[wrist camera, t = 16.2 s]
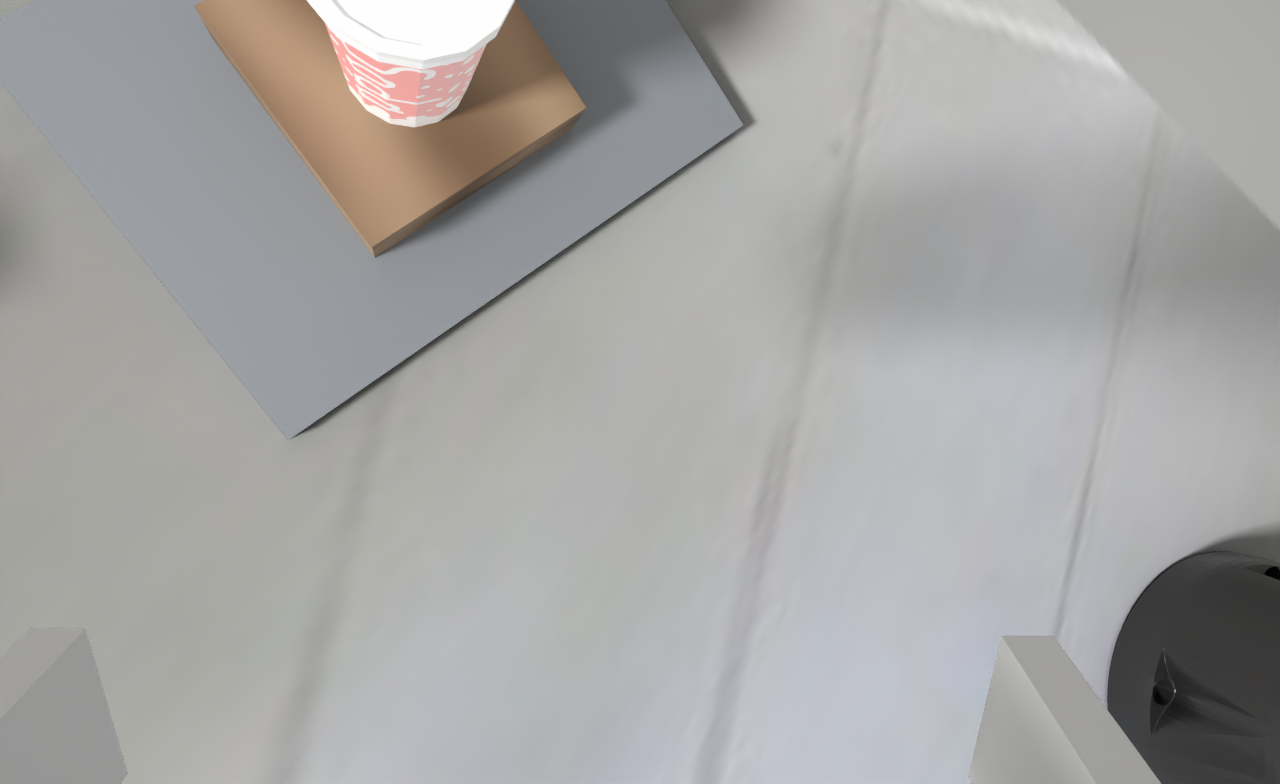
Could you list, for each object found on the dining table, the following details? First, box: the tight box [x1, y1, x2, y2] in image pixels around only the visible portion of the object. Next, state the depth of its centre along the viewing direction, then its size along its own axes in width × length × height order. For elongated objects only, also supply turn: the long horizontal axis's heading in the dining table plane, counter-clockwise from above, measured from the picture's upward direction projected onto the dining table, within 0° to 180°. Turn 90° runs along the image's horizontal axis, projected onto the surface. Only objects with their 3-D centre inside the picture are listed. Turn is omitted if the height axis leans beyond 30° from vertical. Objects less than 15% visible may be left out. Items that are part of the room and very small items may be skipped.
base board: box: [0, 0, 743, 440], centre depth 34 cm, size 24×18×1 cm
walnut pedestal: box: [194, 0, 586, 258], centre depth 32 cm, size 10×10×4 cm
